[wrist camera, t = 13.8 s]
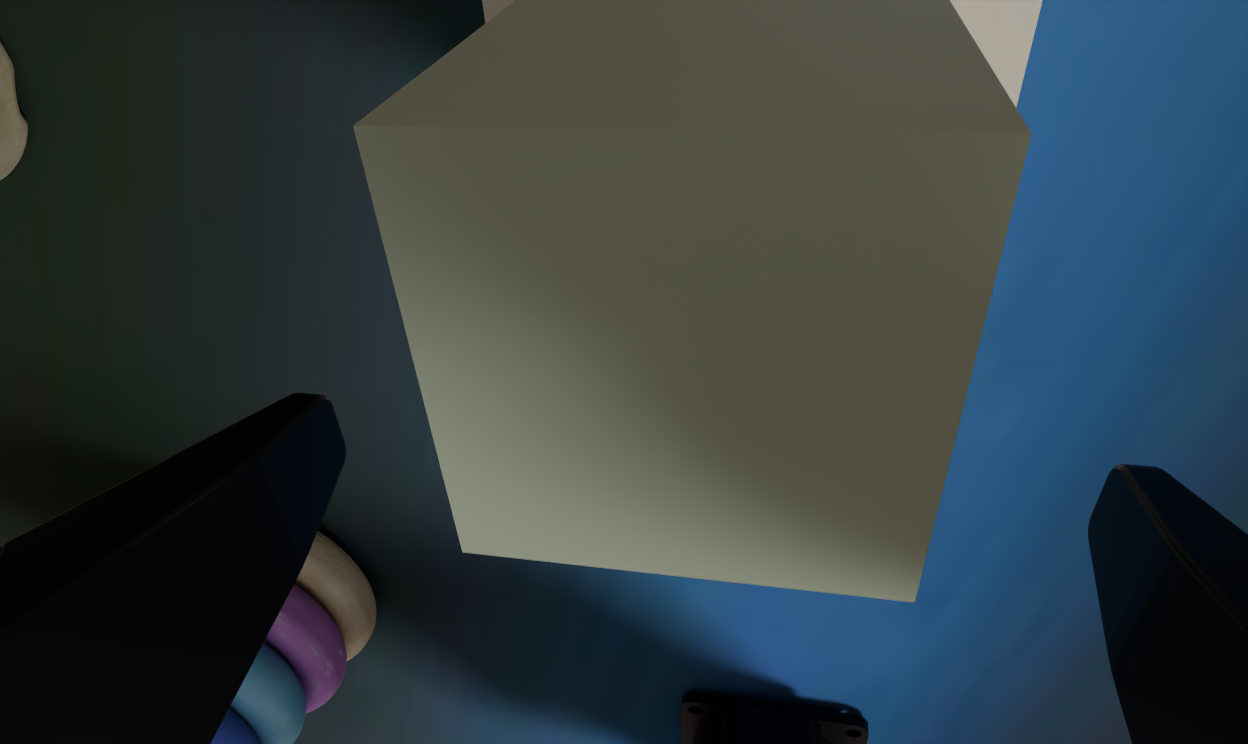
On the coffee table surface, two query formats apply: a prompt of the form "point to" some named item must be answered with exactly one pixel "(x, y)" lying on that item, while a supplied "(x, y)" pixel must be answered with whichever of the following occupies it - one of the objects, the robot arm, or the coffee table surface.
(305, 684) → the stacking toy
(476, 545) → the block sage
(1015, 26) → the plate
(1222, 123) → the coffee table surface
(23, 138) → the flower pot
